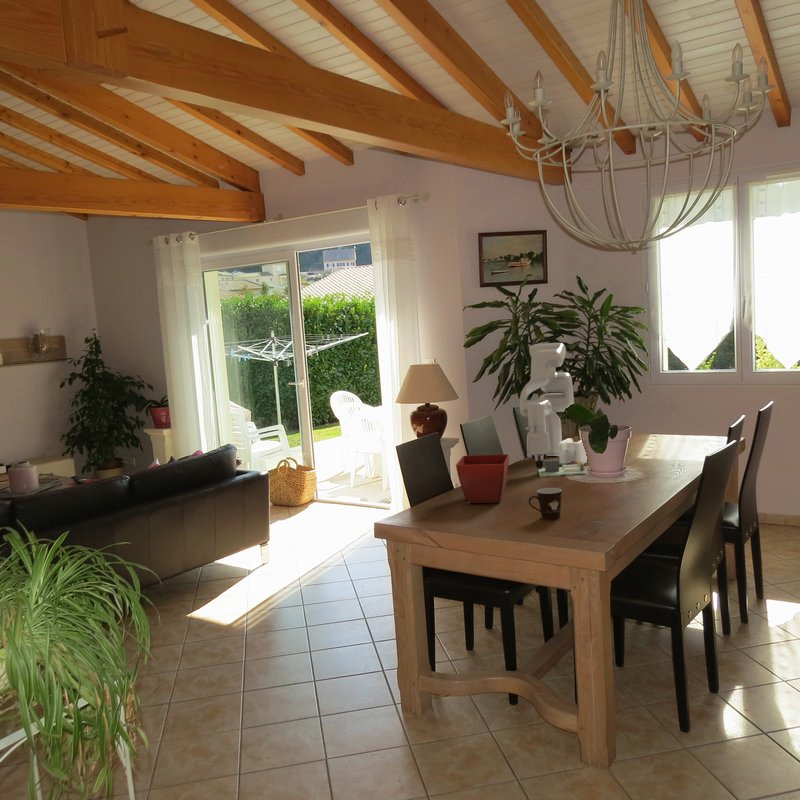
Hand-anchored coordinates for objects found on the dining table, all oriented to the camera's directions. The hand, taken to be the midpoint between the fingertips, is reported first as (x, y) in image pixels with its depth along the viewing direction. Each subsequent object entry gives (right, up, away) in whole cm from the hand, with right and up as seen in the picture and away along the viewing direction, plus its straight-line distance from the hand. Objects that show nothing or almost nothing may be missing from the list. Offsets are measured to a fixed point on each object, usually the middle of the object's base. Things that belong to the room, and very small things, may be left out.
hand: (539, 468), depth 350 cm
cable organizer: (+20, +1, +16) cm, 25 cm away
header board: (+10, -2, -1) cm, 10 cm away
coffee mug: (-11, -11, -74) cm, 76 cm away
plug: (+5, -1, -1) cm, 6 cm away
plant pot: (-29, -9, -41) cm, 51 cm away
